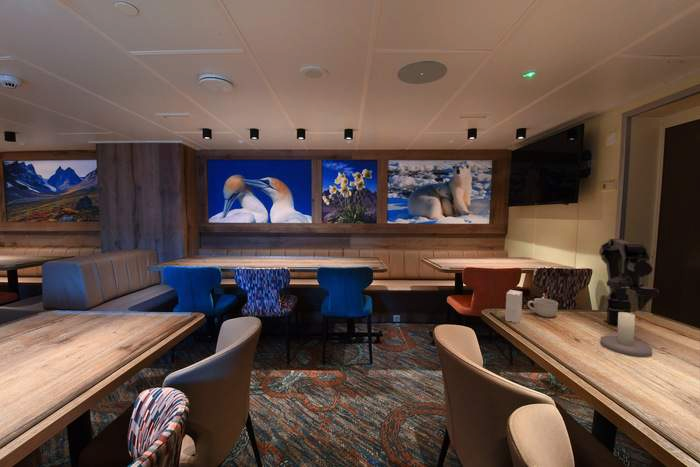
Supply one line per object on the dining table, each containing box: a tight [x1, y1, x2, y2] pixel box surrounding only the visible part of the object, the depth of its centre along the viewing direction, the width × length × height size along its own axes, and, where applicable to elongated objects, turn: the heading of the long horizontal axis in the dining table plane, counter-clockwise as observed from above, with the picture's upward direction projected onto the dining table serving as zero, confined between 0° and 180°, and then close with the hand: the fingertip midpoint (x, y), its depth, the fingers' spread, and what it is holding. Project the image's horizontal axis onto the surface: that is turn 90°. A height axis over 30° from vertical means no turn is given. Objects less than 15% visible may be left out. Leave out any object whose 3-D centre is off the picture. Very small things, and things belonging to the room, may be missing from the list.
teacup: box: [526, 297, 559, 318], centre depth 154 cm, size 14×11×8 cm
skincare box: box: [504, 289, 523, 324], centre depth 147 cm, size 8×6×15 cm
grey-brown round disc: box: [599, 335, 653, 358], centre depth 115 cm, size 15×15×2 cm
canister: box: [616, 312, 636, 346], centre depth 115 cm, size 5×5×12 cm
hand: (630, 306), depth 127 cm, fingers open, 9 cm apart
